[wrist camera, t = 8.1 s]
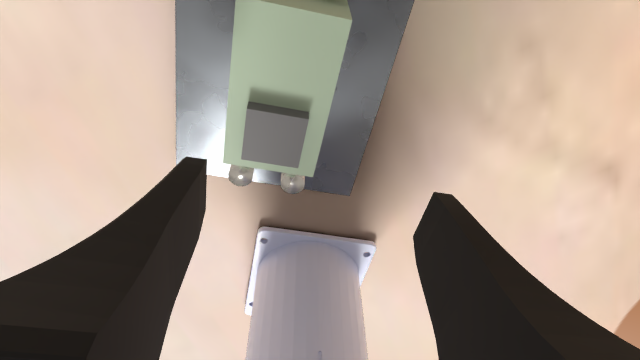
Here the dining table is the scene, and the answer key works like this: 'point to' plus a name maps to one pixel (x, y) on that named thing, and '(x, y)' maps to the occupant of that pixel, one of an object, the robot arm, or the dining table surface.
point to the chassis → (346, 109)
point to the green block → (283, 81)
